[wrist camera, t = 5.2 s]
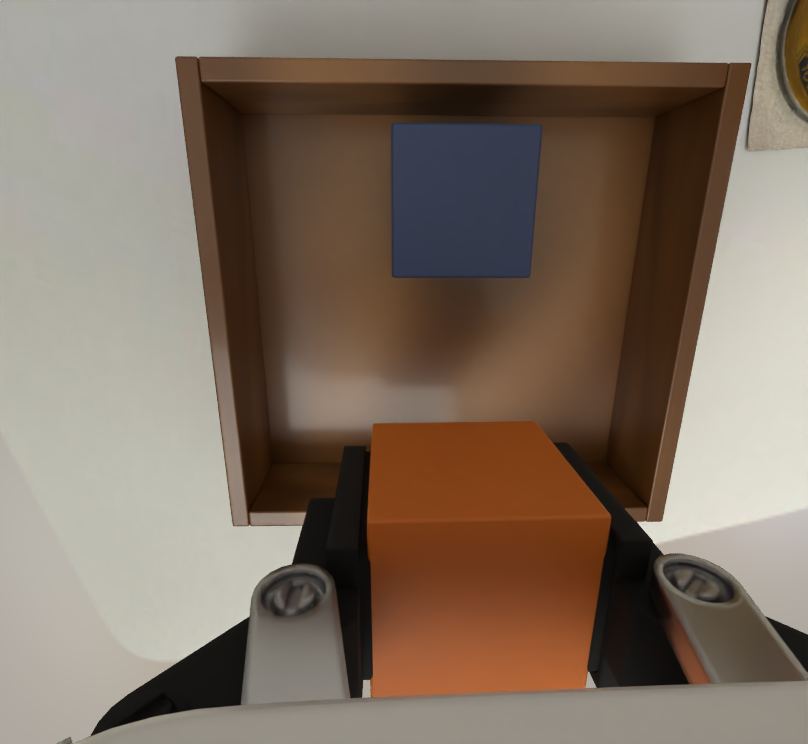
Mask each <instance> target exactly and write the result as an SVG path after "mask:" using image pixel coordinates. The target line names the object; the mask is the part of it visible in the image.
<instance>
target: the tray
mask: <svg viewBox="0 0 808 744" xmlns="http://www.w3.org/2000/svg"><path fill="white" fill-rule="evenodd" d="M175 61H176V69H177V77H178V86H179V94H180V102H181V110H182V118H183V126H184V134H185V142H186V150H187V158H188V166H189V175H190V183H191V191H192V199H193V207H194V215H195V223H196V231H197V239H198V247H199V255H200V264H201V272H202V280H203V288H204V296H205V304H206V312H207V320H208V328H209V336H210V344H211V353H212V361H213V369H214V377H215V385H216V393H217V401H218V409H219V417H220V425H221V433H222V442H223V450H224V458H225V466H226V474H227V482H228V490H229V498H230V506H231V514H232V522H233V526H249V525H251V526H300V525H303V523H304V519H305V515H306V512H307V508H308V504H309V501H310V499H311V498H335V494H336V489H337V483H338V478H339V472H340V467H341V461H342V456H343V450H344V446H366V451H371V439H372V425H373V424H374V423H434V422H505V421H535V422H536V423H537V424H538V425H539V426H540V428H541V429H542V430H543V431H544V433H545V434H546V435H547V436H548V438H549V439H550V440H551V441H552V443H561V442H566V443H568V444H569V445H570V446H571V447H572V449H573V450H574V451H575V452H576V453H577V454H578V456H579V457H580V458H581V459H582V460H583V461H584V462H585V464H586V465H587V466H588V467H589V468H590V469H591V470H592V472H593V473H594V474H595V475H596V476H597V477H598V479H599V480H600V481H601V482H602V483H603V484H604V485H605V487H606V488H607V489H608V490H609V491H610V492H611V493H612V495H613V496H614V497H615V498H616V499H617V500H618V501H619V503H620V504H621V505H622V506H623V507H624V508H625V510H626V511H627V512H628V513H629V514H630V515H631V516H632V518H633V519H634V520H635V521H636V522H642V521H647V522H660V521H662V519H663V514H664V509H665V504H666V499H667V494H668V489H669V483H670V478H671V473H672V468H673V463H674V458H675V453H676V448H677V442H678V437H679V432H680V427H681V422H682V417H683V412H684V407H685V401H686V396H687V391H688V386H689V381H690V376H691V371H692V366H693V360H694V355H695V350H696V345H697V340H698V335H699V330H700V325H701V319H702V314H703V309H704V304H705V299H706V294H707V289H708V284H709V278H710V273H711V268H712V263H713V258H714V253H715V248H716V243H717V237H718V232H719V227H720V222H721V217H722V212H723V207H724V202H725V196H726V191H727V186H728V181H729V176H730V171H731V166H732V161H733V155H734V150H735V145H736V140H737V135H738V130H739V125H740V120H741V114H742V109H743V104H744V99H745V94H746V89H747V84H748V79H749V73H750V68H751V63H730V64H728V63H687V62H603V61H519V60H436V59H352V58H268V57H199V58H197V57H185V56H178V57H176V58H175ZM393 123H466V124H540V125H542V139H541V151H540V163H539V175H538V187H537V199H536V212H535V224H534V236H533V248H532V260H531V272H530V277H528V278H394V277H393V276H392V188H391V125H392V124H393Z"/></svg>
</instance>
